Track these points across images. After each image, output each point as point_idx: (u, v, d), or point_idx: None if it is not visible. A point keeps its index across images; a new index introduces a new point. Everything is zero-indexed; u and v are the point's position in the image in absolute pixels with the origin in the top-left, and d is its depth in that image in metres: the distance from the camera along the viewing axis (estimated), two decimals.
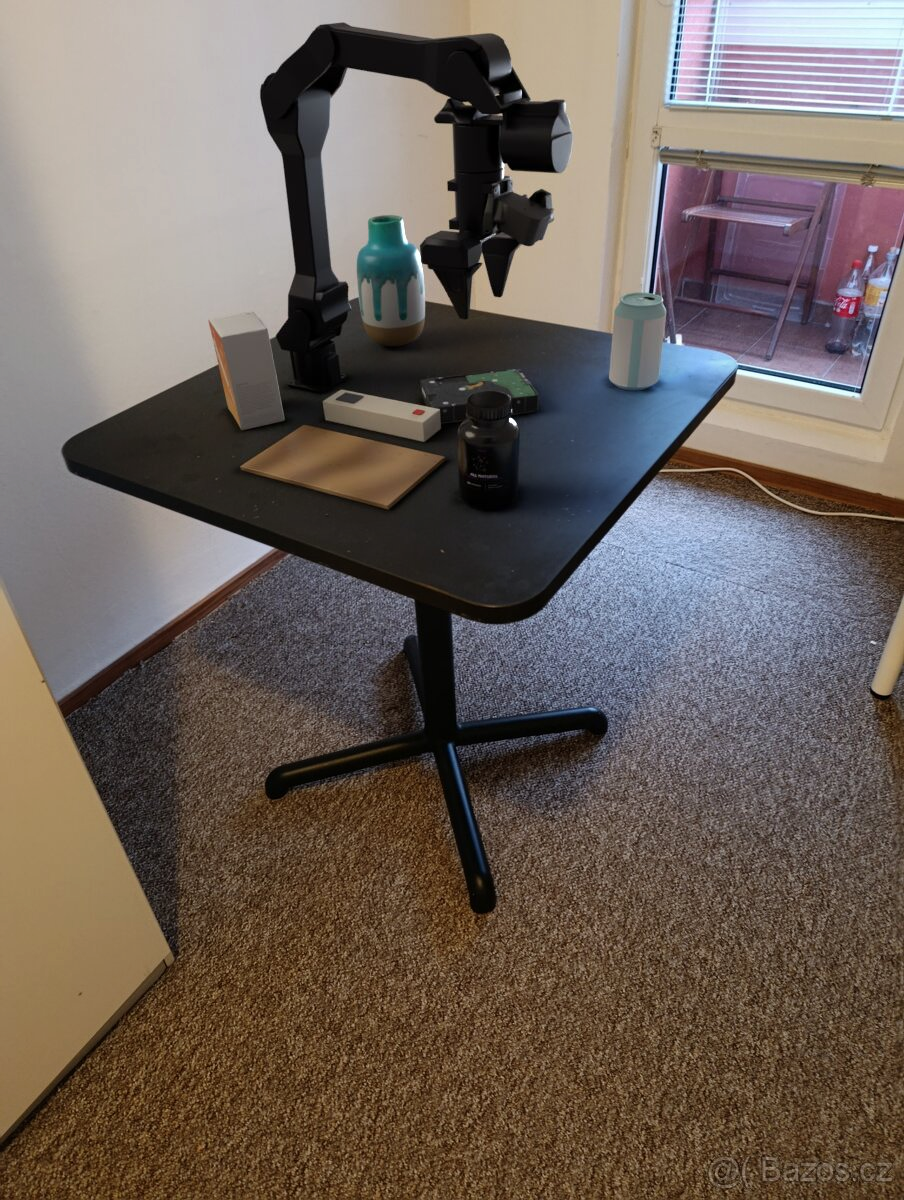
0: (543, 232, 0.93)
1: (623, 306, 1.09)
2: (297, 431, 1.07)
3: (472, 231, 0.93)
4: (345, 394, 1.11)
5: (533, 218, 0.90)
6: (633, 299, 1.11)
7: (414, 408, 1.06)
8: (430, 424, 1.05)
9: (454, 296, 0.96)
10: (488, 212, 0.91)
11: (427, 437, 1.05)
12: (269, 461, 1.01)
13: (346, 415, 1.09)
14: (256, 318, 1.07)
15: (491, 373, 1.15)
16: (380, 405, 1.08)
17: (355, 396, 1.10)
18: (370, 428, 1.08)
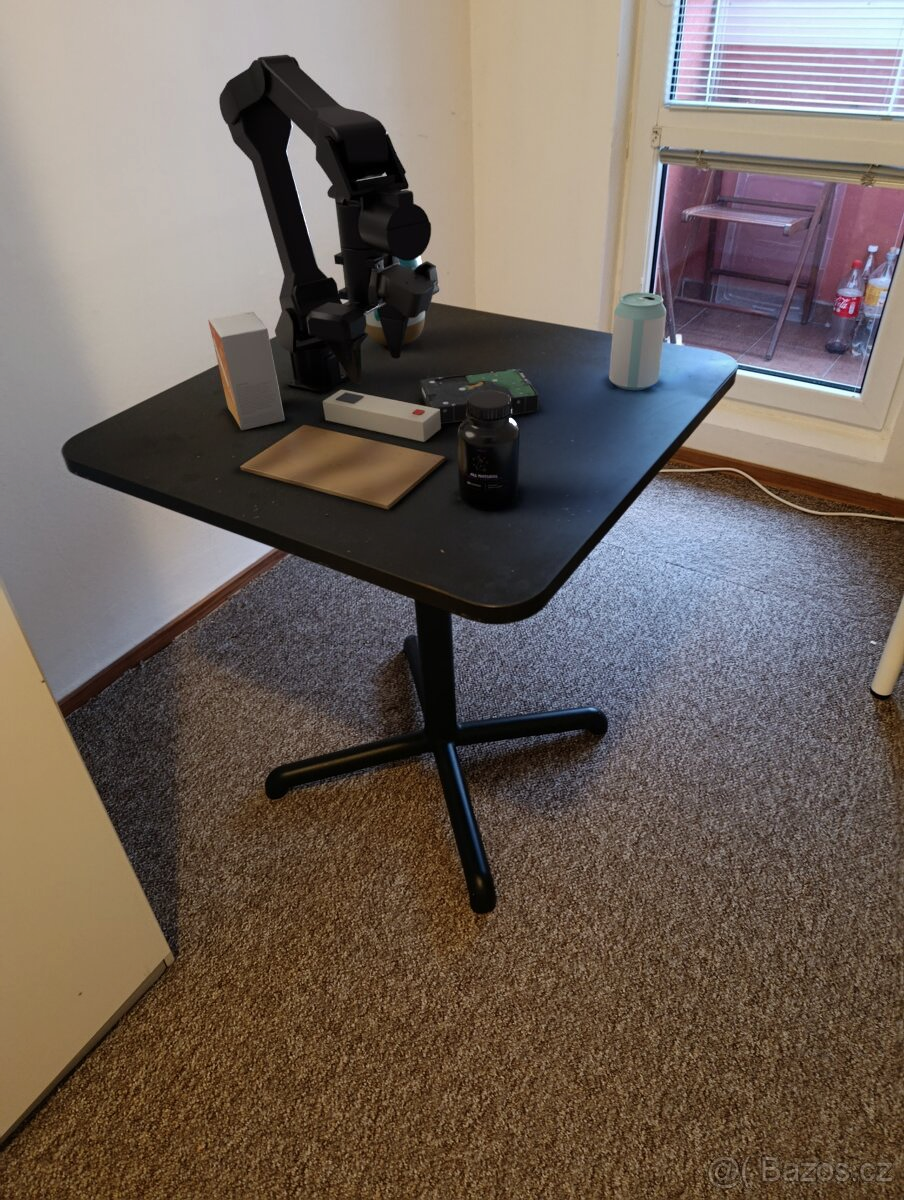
0: (427, 303, 0.97)
1: (623, 306, 1.09)
2: (297, 431, 1.07)
3: (359, 302, 0.97)
4: (345, 394, 1.11)
5: (414, 293, 0.93)
6: (633, 299, 1.11)
7: (414, 408, 1.06)
8: (430, 424, 1.05)
9: (345, 363, 1.00)
10: (372, 285, 0.95)
11: (427, 437, 1.05)
12: (269, 461, 1.01)
13: (346, 415, 1.09)
14: (256, 318, 1.07)
15: (491, 373, 1.15)
16: (380, 405, 1.08)
17: (355, 396, 1.10)
18: (370, 428, 1.08)
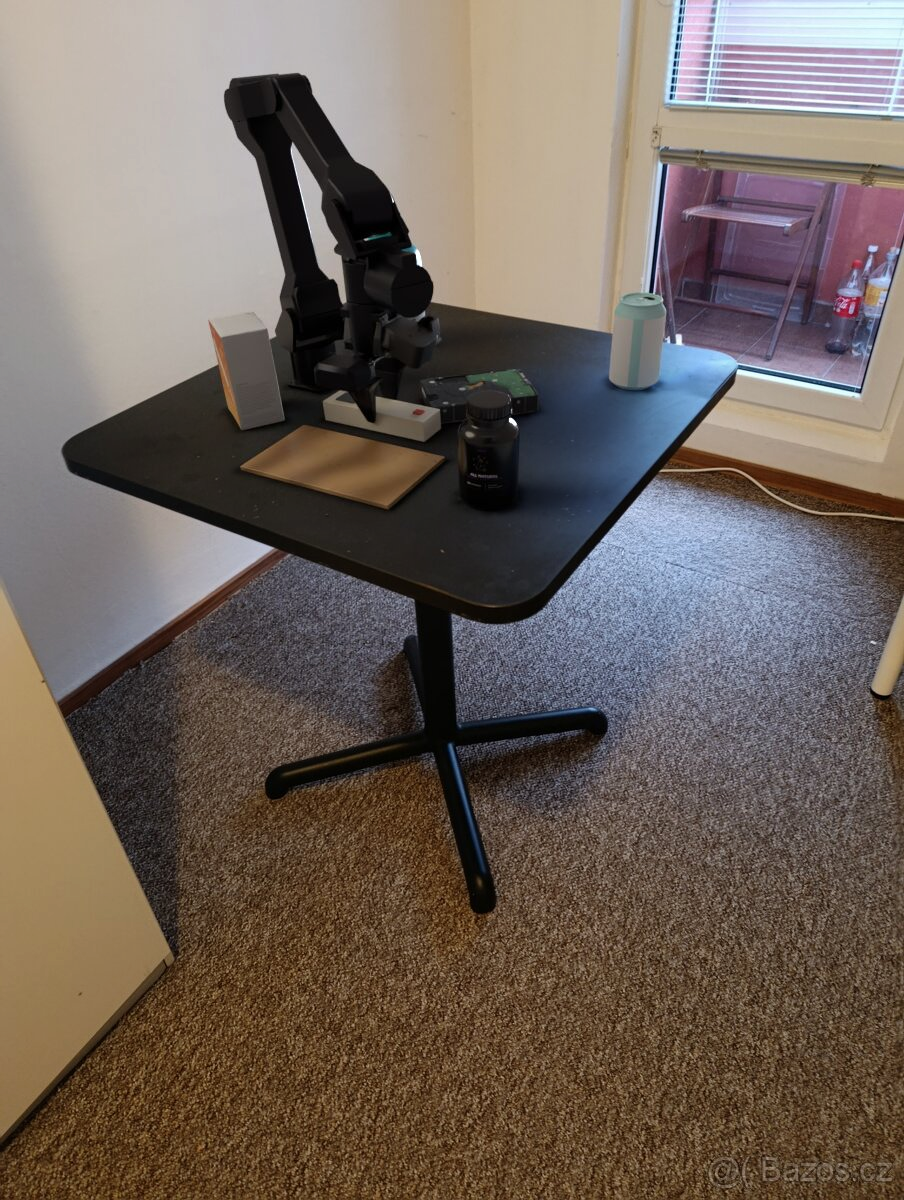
0: (430, 354, 1.00)
1: (623, 306, 1.09)
2: (297, 431, 1.07)
3: (365, 353, 1.01)
4: (345, 394, 1.11)
5: (417, 346, 0.97)
6: (633, 299, 1.11)
7: (414, 408, 1.06)
8: (430, 424, 1.05)
9: (360, 403, 1.05)
10: (377, 338, 0.98)
11: (427, 437, 1.05)
12: (269, 461, 1.01)
13: (346, 415, 1.09)
14: (256, 318, 1.07)
15: (491, 373, 1.15)
16: (380, 405, 1.08)
17: None
18: (370, 428, 1.08)
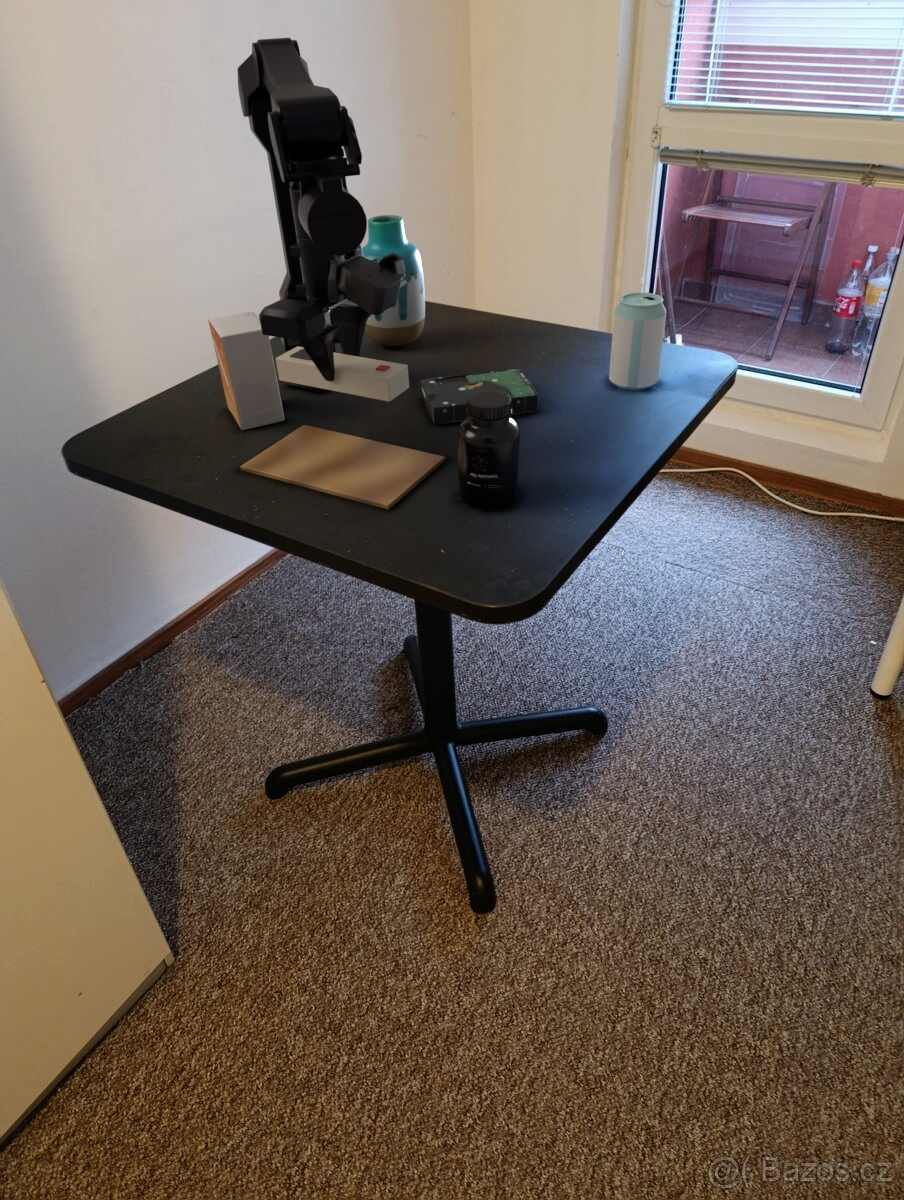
0: (394, 299, 0.87)
1: (623, 306, 1.09)
2: (297, 431, 1.07)
3: (319, 298, 0.88)
4: (301, 350, 0.97)
5: (377, 287, 0.84)
6: (633, 299, 1.11)
7: (378, 364, 0.93)
8: (396, 382, 0.92)
9: (316, 358, 0.92)
10: (332, 279, 0.85)
11: (393, 396, 0.92)
12: (269, 461, 1.01)
13: (301, 374, 0.96)
14: (256, 318, 1.07)
15: (491, 373, 1.15)
16: (340, 361, 0.95)
17: None
18: (329, 388, 0.95)
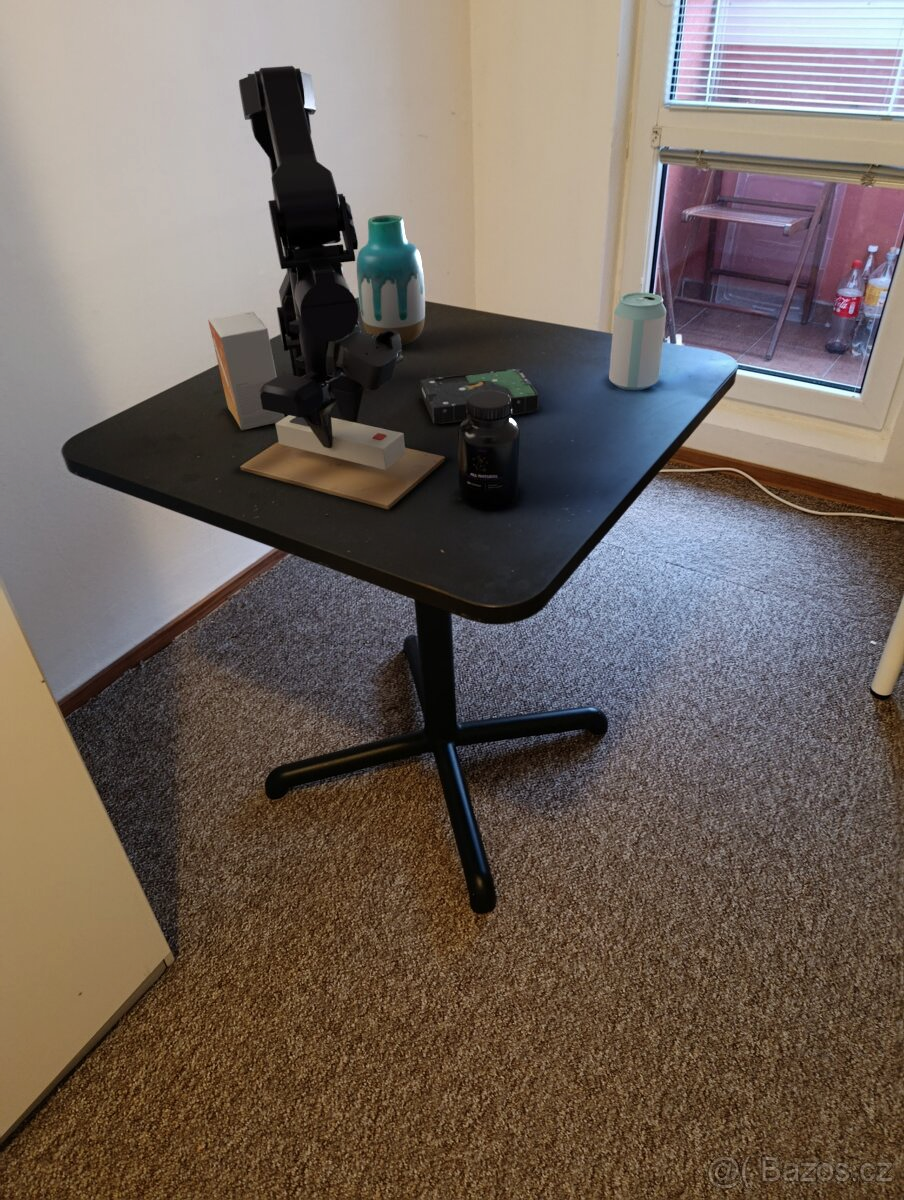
0: (390, 374, 0.90)
1: (623, 306, 1.09)
2: None
3: (317, 372, 0.90)
4: None
5: (374, 365, 0.87)
6: (633, 299, 1.11)
7: (375, 432, 0.96)
8: (392, 450, 0.95)
9: (315, 427, 0.95)
10: (330, 356, 0.88)
11: (389, 464, 0.95)
12: (269, 461, 1.01)
13: (301, 439, 0.99)
14: (256, 318, 1.07)
15: (491, 373, 1.15)
16: (338, 428, 0.97)
17: None
18: (327, 454, 0.98)
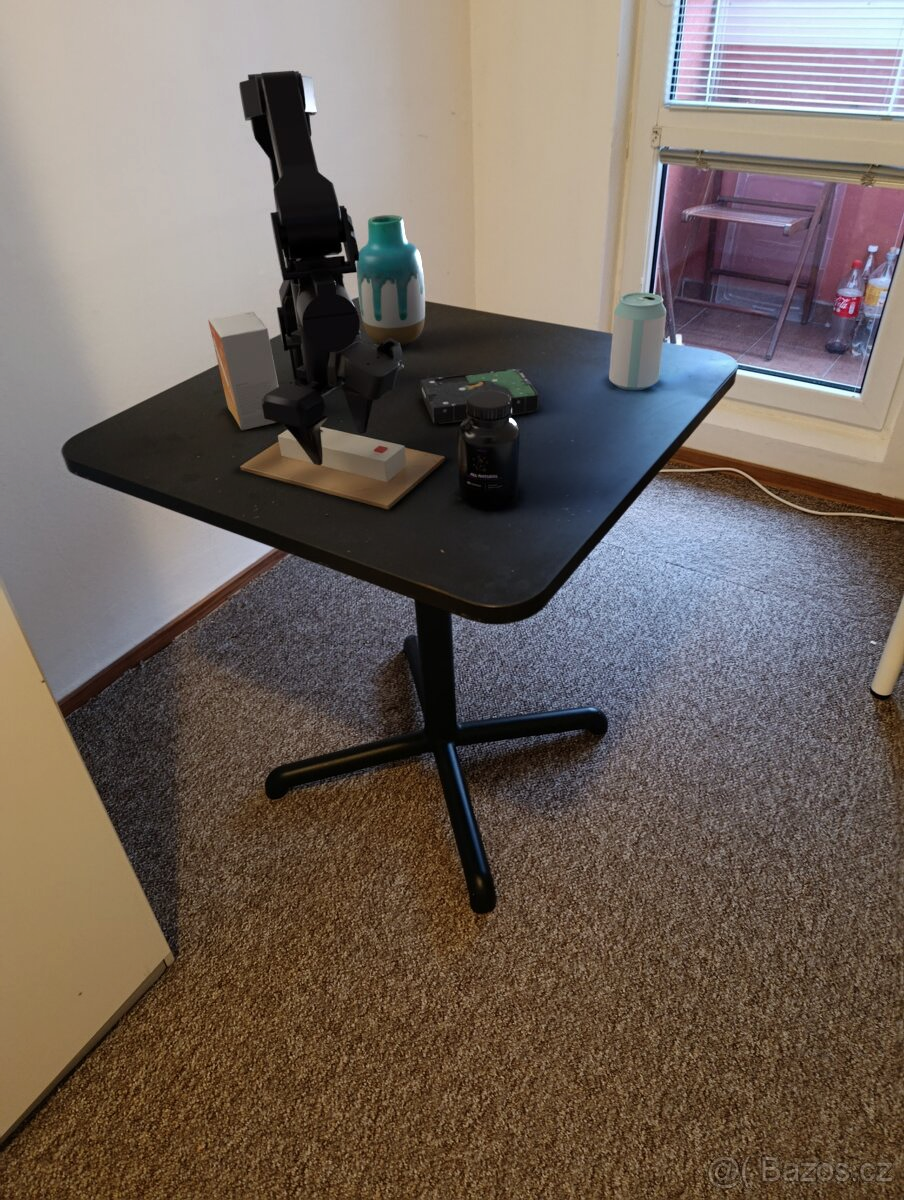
0: (391, 383, 0.91)
1: (623, 306, 1.09)
2: None
3: (319, 382, 0.91)
4: None
5: (375, 375, 0.87)
6: (633, 299, 1.11)
7: (376, 444, 0.97)
8: (393, 463, 0.96)
9: (304, 444, 0.94)
10: (331, 366, 0.89)
11: (390, 477, 0.96)
12: (269, 461, 1.01)
13: (303, 451, 1.00)
14: (256, 318, 1.07)
15: (491, 373, 1.15)
16: (340, 440, 0.98)
17: None
18: (329, 466, 0.99)
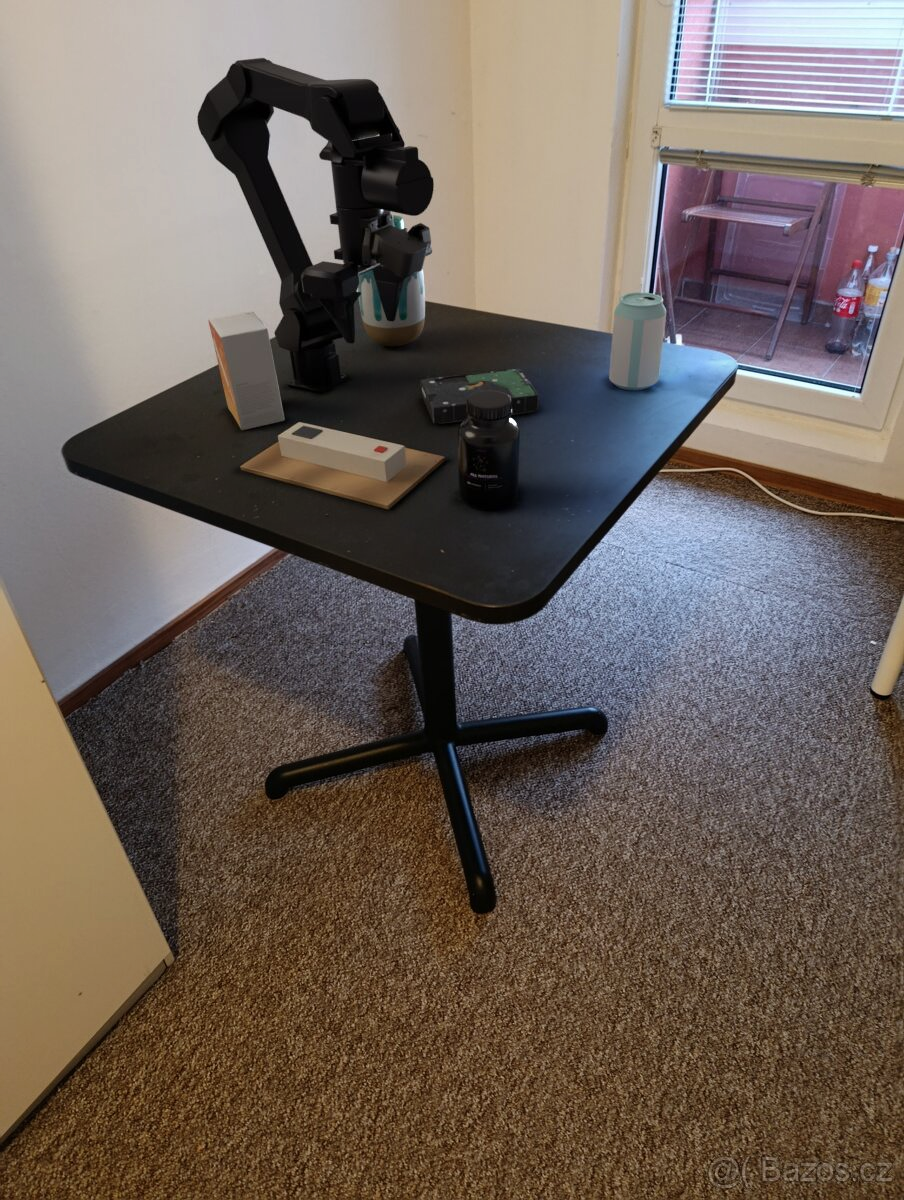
0: (420, 264, 0.99)
1: (623, 306, 1.09)
2: None
3: (354, 262, 0.99)
4: (303, 428, 1.01)
5: (406, 252, 0.95)
6: (633, 299, 1.11)
7: (376, 444, 0.97)
8: (393, 463, 0.96)
9: (339, 322, 1.02)
10: (366, 245, 0.97)
11: (390, 477, 0.96)
12: (269, 461, 1.01)
13: (303, 451, 1.00)
14: (256, 318, 1.07)
15: (491, 373, 1.15)
16: (340, 440, 0.98)
17: (313, 430, 1.01)
18: (329, 466, 0.99)
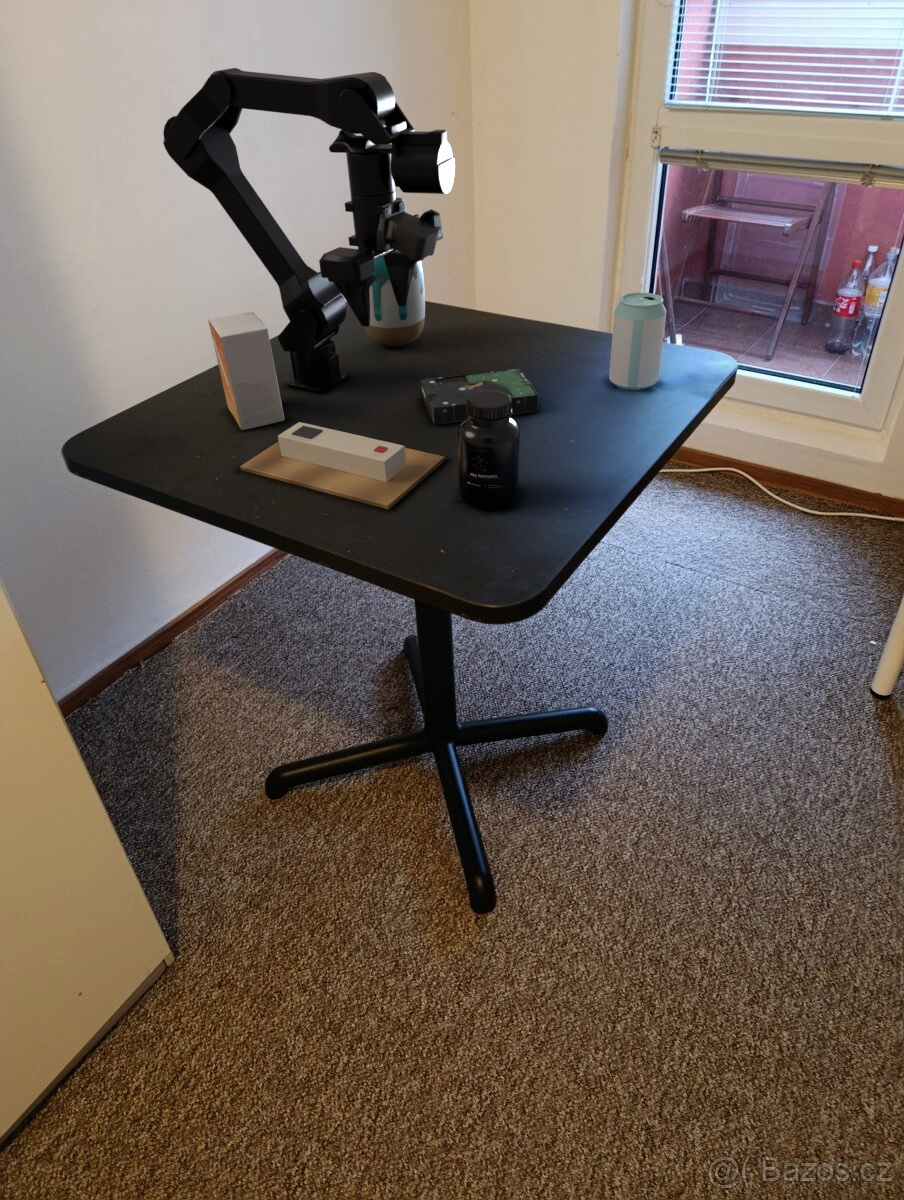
0: (432, 248, 1.03)
1: (623, 306, 1.09)
2: None
3: (368, 247, 1.04)
4: (303, 428, 1.01)
5: (419, 236, 1.00)
6: (633, 299, 1.11)
7: (376, 444, 0.97)
8: (393, 463, 0.96)
9: (355, 306, 1.06)
10: (380, 231, 1.01)
11: (390, 477, 0.96)
12: (269, 461, 1.01)
13: (303, 451, 1.00)
14: (256, 318, 1.07)
15: (491, 373, 1.15)
16: (340, 440, 0.98)
17: (313, 430, 1.01)
18: (329, 466, 0.99)
